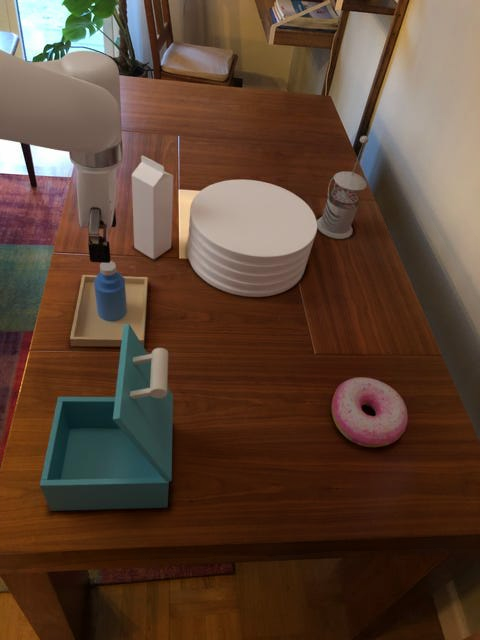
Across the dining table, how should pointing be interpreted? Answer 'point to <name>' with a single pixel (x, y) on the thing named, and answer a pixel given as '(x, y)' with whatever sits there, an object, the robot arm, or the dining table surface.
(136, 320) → the tray
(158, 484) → the teal wooden box
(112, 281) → the bottle
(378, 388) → the donut
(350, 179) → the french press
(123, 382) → the lid
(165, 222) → the milk
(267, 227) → the plate stack
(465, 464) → the dining table surface
